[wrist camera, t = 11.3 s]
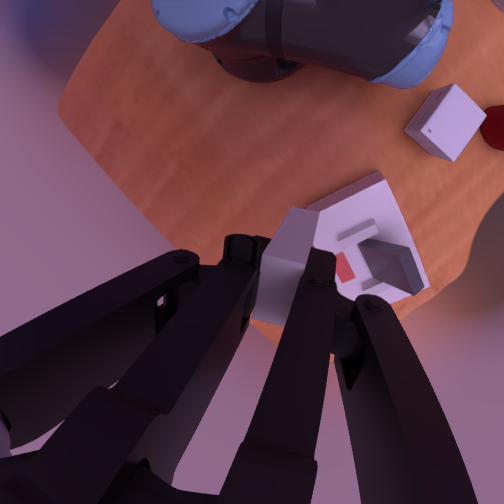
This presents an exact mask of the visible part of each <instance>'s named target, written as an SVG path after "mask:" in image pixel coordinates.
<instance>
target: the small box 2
mask: <svg viewBox="0 0 504 504" xmlns="http://www.w3.org/2000/svg"><path fill="white" fill-rule="evenodd" d="M492 1H493V3H494V4H495V5H496V6H497V7H498V8H499V9H500V10H501V11H502V12H504V0H492Z"/></svg>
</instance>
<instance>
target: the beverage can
mask: <svg viewBox="0 0 504 504" xmlns="http://www.w3.org/2000/svg"><path fill="white" fill-rule="evenodd" d="M484 113H485V114H486V115H487V116H486V118H485V119H484V121H483V122H482V124H481V129H482V133H483V136H484V138H485V140H486V141H487V142H488V144H489V145H490V146H492V147H493V148H495V149H498V150H502V151H504V105H499V106H491V107H489V108H488V109H487V110H486V111H485V112H484Z"/></svg>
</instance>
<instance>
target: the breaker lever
mask: <svg viewBox="0 0 504 504" xmlns="http://www.w3.org/2000/svg"><path fill="white" fill-rule="evenodd" d="M358 247H359V249H360V251H361V253H362V255H363V257H364V259H365V261H366V264H367V266H368V268H369V270H370V272H371V274H372V276H373V278H375V279H377V280H379V281H382V282H384V283H386V284H388V285H391V286H393V287H395V288H397V289H400V290H402V291H404V292H407V293H409V294H411V295H413V296H415V295H416V294H417V293H418V292H420V291H421V290H422V289H423V288H424V284H423V281H422V278H421V276H420V273H419V270H418V268H417V265H416V262H415V260H414V257H413V255H412V252H411V250H410V247H406V246H402V245H397V244H393V243H388V242H383V241H379V240H374V239H369V238H367V239H365V240H363V241H361V242H359V243H358Z"/></svg>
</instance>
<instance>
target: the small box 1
mask: <svg viewBox="0 0 504 504" xmlns="http://www.w3.org/2000/svg"><path fill="white" fill-rule="evenodd" d="M486 116H487V115H486V114H485V113H484V112H483V111H482V110H481V108H480V107H479V106H478V105H477V104H476V103H475V102H474V101H473V100H472V99H471V98H470V97H469V96H468V95H467V94H466V93H465V92H464V91H463V90H462V89H461V88H460V87H459V86H458V85H456V84H455V83H453V84H450V85H447V86H445V87H442V88H439V89H437V90H434V91H432V92H431V93H430V94H429V96H428V97H427V99H426V100H425V101H424V103H423V104H422V106H421V107H420V108H419V110H418V111H417V112H416V114H415V115H414V117H413V118H412V119H411V121H410V122H409V123H408V125H407V126H406V127H405V129H404V132H406V133H407V134H408V135H409V136H410V137H411V138H412V139H414V140H415V141H416V142H417V143H418V144H419V145H420V146H421V147H423V148H424V149H425V150H426V151H427V152H428V153H429V154H430V155H433V156H436V157H439V158H442V159H445V160H448V161H451V162H455V161H456V159H457V158H458V157H459V155H460V154H461V152H462V151H463V150H464V148H465V147H466V145H467V144H468V143H469V141H470V140H471V138H472V137H473V135H474V134H475V133H476V131H477V130H478V128H479V127H480V125H481V124H482V122H483V121H484V119H485V118H486Z"/></svg>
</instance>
